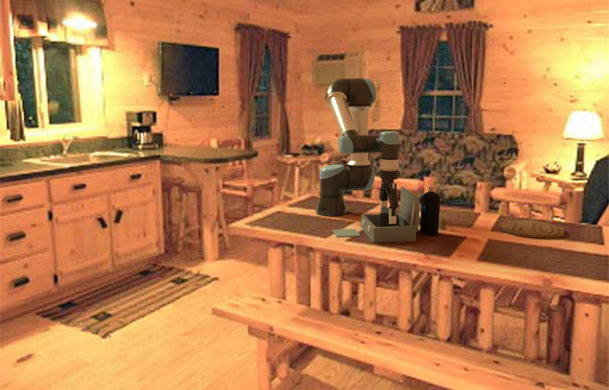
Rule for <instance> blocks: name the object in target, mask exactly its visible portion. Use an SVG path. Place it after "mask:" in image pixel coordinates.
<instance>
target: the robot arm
mask: <svg viewBox="0 0 609 390" xmlns="http://www.w3.org/2000/svg"><path fill="white" fill-rule="evenodd" d="M324 98H325V103H326V105H327V106H328V109H330V110H331V113H332V117H333V119H334V122H335V124H336V128H337V130H338V133H339V137H338V140H337V147H338V151H339V153H341V154H347V155H348V154H349V155H350V157H349V159H350V160H349V161H348V162H347V163H346V167H345V166H344V164H330V165H326V166H323V167H321V168H320V171H319V177H318V178H319V197H318V202H317V204H316V208H315V213H316V214H317V215H320V216H324V217H325V216H328V217H338V216H344V215H346V214H347V213H348V207H347V205H346V202H345V198H344V192H355V191H356V192H357V191H361V192H363V191H369V190H371V189H372V188H373V186H374V184H375V180H376V172H375V168H374V167H373V166H372V163H371V162H370V161H369V159H368V158H369V154H372V153H373V154H377V153H380V154H379V155H380V156H379V157H380V158H379V160H380V161H378V164H379V168H380V170H379V179H380V180H381V183H380V189H379V190H380V191H379V196H378V198H379V200H380V206H379V207H380V211H381V207H386V208H389V224H396V213H397V209H398V208H399V199H398V190H397V188H398V187H397V183H395V182H394V181H395V180H398V179H399V170H398V169H399V167H400V161H399V160H400V158H399V156H400V141H401V140H400V133H399V132H398V131H392V130H391V131H389V130H386V131H385V130H384V131H382V132H381V133H380V134H378V133H377V134H376V133H375V134H369V111H370V110H371V108H372V104H374V103H375V102H376V100H377V89H376V85H375V83H374V82H373V80H372V79H370V78H365V77H361V78H360V77H359V78H353V77H352V78H348V77H347V78H343V77H342V78H337V79H336V80H333V81H332V82H331V83H330V84H329V86H328V87H327V88H326V91H325V96H324ZM388 203H389V206H388ZM380 211H379V212H380Z"/></svg>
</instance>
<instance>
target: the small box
mask: <svg viewBox="0 0 609 390" xmlns="http://www.w3.org/2000/svg"><path fill="white" fill-rule="evenodd" d="M380 207H381V206H380ZM379 214H380V223H379V224H380V225H379V227H394V226H395V224H389V207H387V208H386V207H381V211H379Z"/></svg>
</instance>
